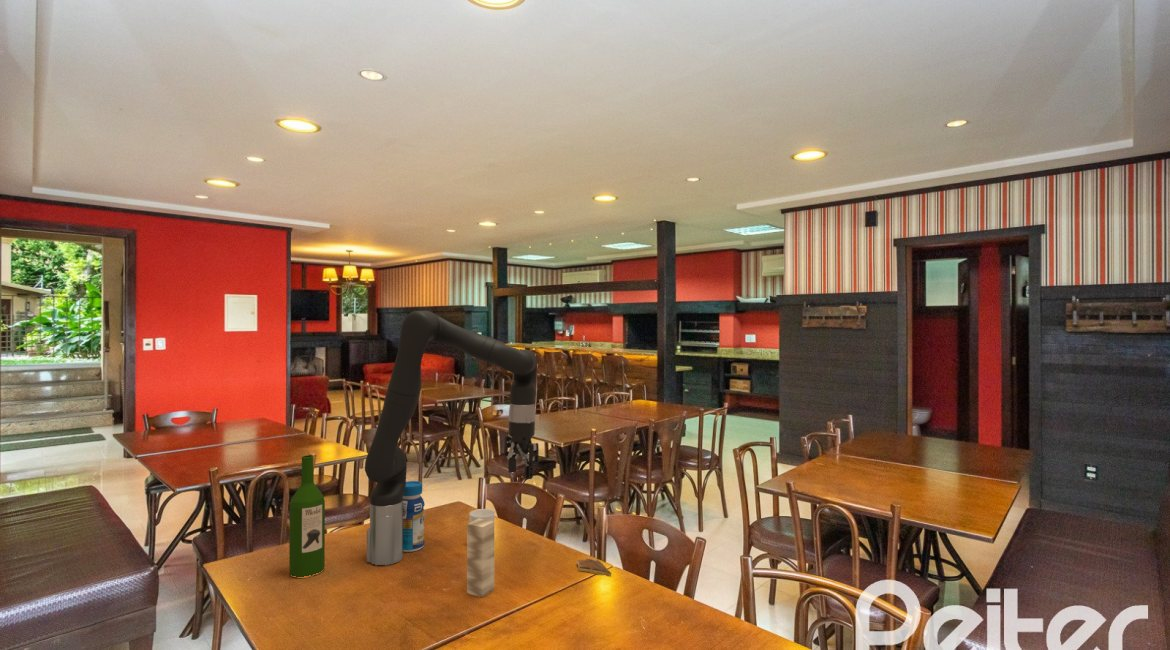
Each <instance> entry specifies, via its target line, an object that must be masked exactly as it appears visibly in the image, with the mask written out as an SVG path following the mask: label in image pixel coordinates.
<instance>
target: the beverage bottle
mask: <svg viewBox="0 0 1170 650" xmlns="http://www.w3.org/2000/svg"><path fill="white" fill-rule="evenodd" d="M422 494H423V483H422V482H421V481H419V480H418V481H417V480H409V481H406V487H405V491H404V494H403V553H404V552H405V553H410V552H412V553H413V552H416V551H419V550H422V549H423V548H424V547H425V515H426V511H425V500H424V498H423V497H422Z"/></svg>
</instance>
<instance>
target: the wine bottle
mask: <svg viewBox="0 0 1170 650" xmlns="http://www.w3.org/2000/svg"><path fill="white" fill-rule="evenodd" d="M314 472H315V471H314V455H313V454H306V455H303V456H301V477H300V478H301V480H300V481H301V483H300V485H299V487H298V488H297V490H296V491H295V493H294V495H292V497H291V499H290V502H289V551H288V552H289V561H288V562H289V567H288V568H289V569H288V571H289V576H290V575H292V576H296V577H304V576H309V575H313V574H316V573H319V572H321V571H322V570H323V569H324V570H325V568H324V567H326V566H325V564H326V563H325V561H326V560H325V556H326V554H325V553H326V552H325V551H326V550H325V545H326V544H325V543H326V542H325V541H326V539H325V536H326V535H325V534H326V532H325V528H326V527H325V525H326V522H325V521H326V520H325V519H326V517H325V516H326V514H325V513H326V507H325V505H326V501H325V497H324V496H325V495H324V494H323V493H322V492H321V490H319V488H318V486H317V485H316V483H315V479H314ZM324 570H323V571H324Z"/></svg>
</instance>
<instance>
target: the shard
mask: <svg viewBox="0 0 1170 650" xmlns="http://www.w3.org/2000/svg"><path fill="white" fill-rule="evenodd" d="M575 562H576V564H577V565H578V567H577V571H578V572H585V573H591V574H594V575H598V576H599V575H600V576H604V575H606V576H605V577H611V575H612V572H611V571H610V570H609V569H608V568H607V567H606V566H605V565H604V564H603V563H602V562H601V561H600V560H599V559H596V558H585V559H578V560H576V561H575ZM609 575H610V576H609Z"/></svg>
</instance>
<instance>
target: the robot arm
mask: <svg viewBox="0 0 1170 650" xmlns="http://www.w3.org/2000/svg"><path fill="white" fill-rule="evenodd" d="M428 342H434V343H440V344H443V345H447V346H450V347H453V348H455V349H458V351H461V352H463V353H464V354H467V355H468V356H470V357H473V358H475V359H476V360H480V361H483V362H485V363H489V364H492V365H495V366H497V367H499V368H501V369H503V370H505V371H507V372H509V373H512V374H513V377H512V380H513V381H512V384H511V387H510V396H509V409H508V430H507V431H508V433H507V435H505V436H504V446H503V447H504V448H503V454H504V455H503V456H504V457H506V458H507V460H508V465H507V467H508V473H516V471H517V457H518V456H520V457H521V459H522V460H523V462H524V465H525V466H524V479H525V480H532V479H533V477H534V466H536V465H539V463H540V462H539V458H540V457H539V456H540V455H539V453H540V452H539V451H540V450H539V443H538V442H534V443H533V442H532V437H534V436H535V433H536V431H535V430H536V427H535V426H536V408H535V407H536V406H535V403H536V401H535V400H536V399H535V397H536V395H535V391H536V389H535V388H536V386H535V384H536V381H537V380H536V378H537V372H538V371H537V370H538V359H537V356H536V354H535V353H534V352H533V351H531V350H529V349H519V348H516V347H513V346H511V345H507V344H506V343H505V342H503V341H501V340H498V339H496V338H493V337H490V336H486V335H484V334H481V333H479V332H478V333H477V332H474V331H473V330H470V329H465V328H463V327H461V326H459V325H456V324H454V323H452V322H450V321H448V320H446V319H445V318H443V317H441V316H439V315H437V314H436V313H434V312H432V311H430V310H414V311H411V312H410V313H408V314H407V315H406V316H405V317H404V320H403V321H402V323H401V329H400V336H399V341H398V348H397V354H396V358H395V360H394V361H395V362H394V364H393V368H392V371H391V376H390V379H389V382H388V386H387V389H386V393H385V396H384V401H383V405H382V409H381V413H380V416H379V420H378V425H377V427H376V432H375V434H374V437H373V440H372V442H371V445H370V447H369V450H368V452H367V455H366V458H365V462H364V471H365V475H366V477H367V478H368V479H369V480H370V481H371V482H373V483H376V485H375V487H374V489H372V491H371V492H370V495H369V528H368V529H366V563H367V562H371V563H372V565H373V564H375V565H374V566H377V565H385V566H391V565H394V563H395V564H397V563H399V562H401V561H402V560H403V556H404V555H403V553H404V552H403V494H404V491H405V487H406V482H407V471H408V470H407V468H408V467H407V466H408V465H407V458H406V454H405V452H404V451H403V449H402V448H401V447H399V446H398V443H399V440H400V438H401V435H402V434H403V432H404V431H405V429H406V427H407V425H408V424H409V423H410V421H411V419H412V417H413V415H414V414H415V411H416V409H417V405H418V402H419V399H420V394H421V390H422V363H423V362H422V361H423V357H424V354H425V350H426V347H427V345H428ZM371 563H370V564H371ZM390 564H391V565H390Z"/></svg>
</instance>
